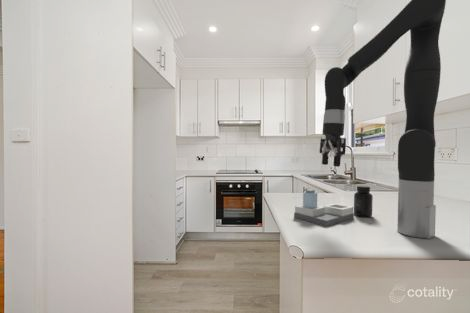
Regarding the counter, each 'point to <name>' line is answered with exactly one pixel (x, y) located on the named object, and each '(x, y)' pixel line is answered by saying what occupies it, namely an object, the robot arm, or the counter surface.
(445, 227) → the counter surface
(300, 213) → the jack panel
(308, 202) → the plug
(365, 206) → the supplement bottle
